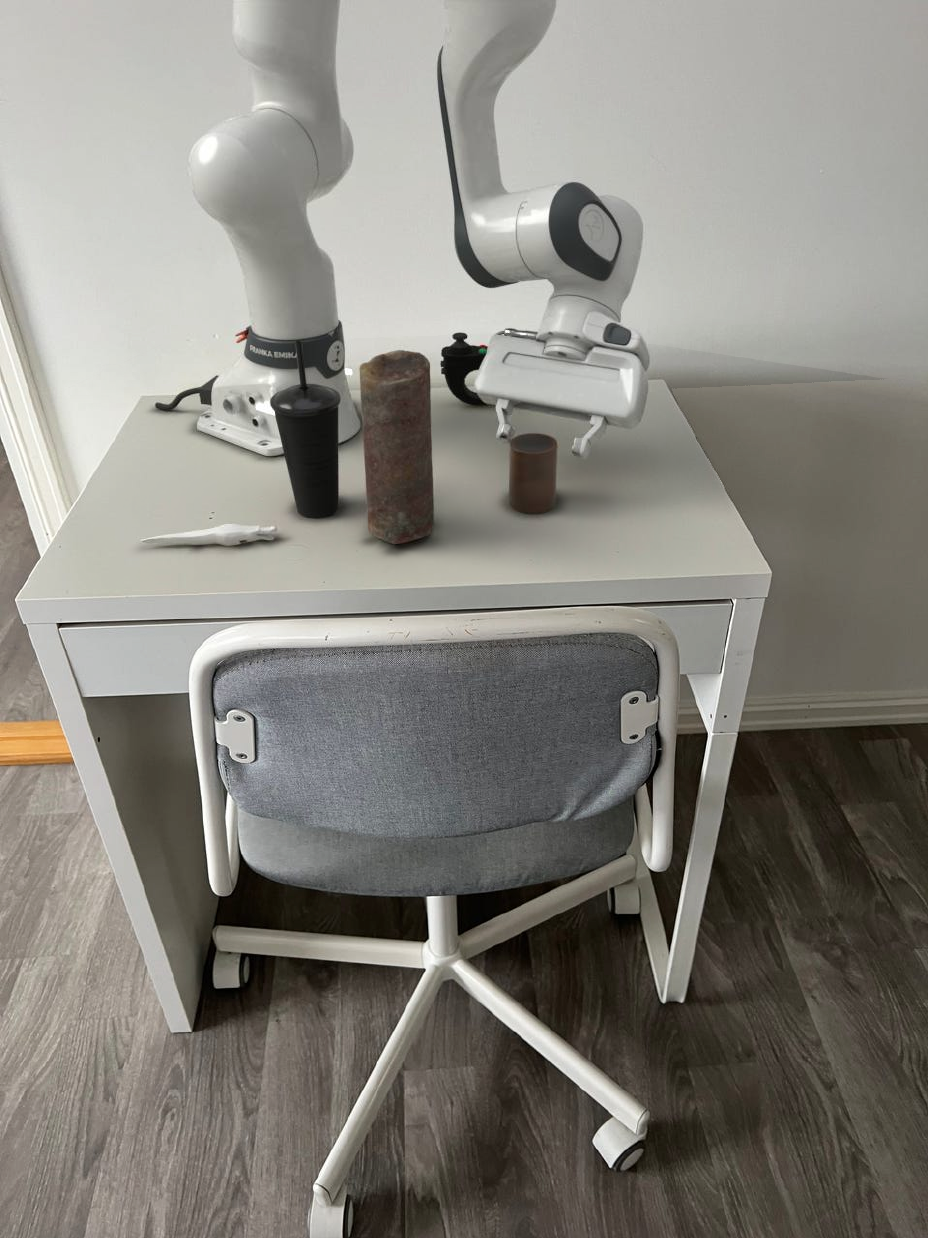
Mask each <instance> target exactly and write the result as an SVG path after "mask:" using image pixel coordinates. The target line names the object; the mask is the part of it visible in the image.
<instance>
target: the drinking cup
mask: <svg viewBox="0 0 928 1238" xmlns="http://www.w3.org/2000/svg"><path fill="white" fill-rule="evenodd" d="M295 345H296V353H297V361H298V370H299V378H300V384H299V385H294V386H291V387H289V388H286V389H284V390H282V391H279V392H277V393H276V394H274V395H273V396H272V397H271V399H270V406H271V408H272V410H273V411H274V413H275V417H276V422H277V426H278V430H279V434H280V439H281V443H282V447H283V451H284V454H283V456H284V459H285V460H284V461H285V463H286V469H287V472H288V477H289V481H290V485H291V489H292V494H293V497H294V501H295V506H296V510H297V513H298V514H299V515H300V516H302V517H303V518H307V519H322V518H326V517H330V516H332V515H334V514H335V513H337V512H338V510H339V506H340V505H339V503H340V501H339V500H340V499H339V498H340V497H339V491H340V489H339V486H340V485H339V481H340V479H339V478H340V477H339V476H340V475H339V473H340V472H339V469H340V468H339V463H340V462H339V444H338V405H339V404H340V401H341V398H340V394H339V393H338V392H337V391H336V390H334V389H332V388H329V387H325V386H321V385H317V384H307V383H306V375H305V366H304V358H303V350H302V341H301V340H296V341H295Z"/></svg>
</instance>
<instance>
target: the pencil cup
mask: <svg viewBox="0 0 928 1238" xmlns="http://www.w3.org/2000/svg"><path fill="white" fill-rule="evenodd" d="M557 467H558V441H557V439H556V438H554V437H552V436H550V435H548V434H544V433H537V432H536V433H535V432H534V433H533V432H529V433H521V434H518V435H516V436H513V437H512V440H511V441H510V443H509V466H508V472H509V473H508V476H509V477H508V479H509V482H508V504H509V506H510V507H511V508H512V509H513V510H514V511H516V512H519V513H522V514H529V515H535V514H537V515H538V514H542V513H546V512H549V511H551V510H552V509H553V508H554V507H555V505H556V495H557V472H558V471H557V470H558V469H557Z"/></svg>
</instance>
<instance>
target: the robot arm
mask: <svg viewBox="0 0 928 1238" xmlns="http://www.w3.org/2000/svg"><path fill="white" fill-rule="evenodd" d="M443 7H444V9H443V10H444V36H443V45H442V46H441V48H440V50H439V52H438V56H437V61H436V78H437V79H436V80H437V91H438V101H439V109H440V115H441V122H442V130H443V138H444V144H445V151H446V157H447V164H448V172H449V177H450V178H449V179H450V184H451V191H452V192H451V193H452V198H453V200H452V201H453V211H454V213H453V215H454V216H453V221H454V222H453V224H454V225H453V235H454V236H453V240H454V242H453V243H454V250H455V253H456V256H457V260H458V261H459V263H460V266H461V267H462V268H463V270H464V271H465V272H466V274H467V275H468V277H470V278H471V279H472V280H473V281H474V282H475V283H476V284H478V285H479V286H481V287H484V288H487V289H496V288H501V287H506V286H510V285H514V284H518V283H521V282H530V281H531V282H532V281H541V280H542V281H543V280H547V281H548V282H549V283H550V284H551V285H552V287H553V291H552V293H551V295H550V297H549V298H548V301H547V304H546V306H545V310H544V313H543V315H542V317H541V318H542V319H541V322H540V324H539V328H538V331H534V330H526V329H525V330H520V329H517V328H513V327H507V328H504V330H500V331H498V332H496V333H494V334H493V335H492V336H491V338H490V340H489V342H488V345H487V346H488V348H487V354H486V356H485V358H484V360H483V362H482V364H481V366H480V368H479V370H477V372H476V375H475V378H474V380H473V387H474V388H473V389H474V392H476V393H477V394H478V396H479V397H480V398H481V400H482V401H483V402H485V403H488V404H489V405H494V406H495V411H496V415H497V420H498V423H499V425H498V427H497V431H496V433H495V438H496V440H497V441H498V442H500V443H505V444H510V441H511V440H512V439H513V438H514V437H515V433H516V430H515V428H514V427H513V425H512V424H509V419H508V416H509V417H512V416H513V413H514V410H515V409H516V410H520V411H521V410H522V411H526V412H527V411H528V412H532V413H539V414H543V415H544V414H545V415H548V416H555V417H556V416H557V417H561V418H567V419H570V420H571V419H572V420H576V421H577V420H578V421H581V422H582V421H583V422H589V425H590V426H591V428H590V429H589V430H588V431H587V432H586V433H585V434H584V435H583V436H582V437H579V436H575V438H574V441H573V445H572V446H571V454H572V455H573V456H574V457H578V458H582V459H587V458H588V455H589V453H590V449H591V447H592V446H593V445H594V444H595V443H597V442H598V440H600V438H602V437H603V436H604V435H605V434H606V430H607V428H608V426H610V427H611V426H612V427H616V428H622V429H626V430H632V429H634V428H635V427H636V426H639V424H640V423H641V422H642V419H643V417H644V413H645V408H646V404H647V401H648V400H647V399H648V393H649V379H648V376H647V374H646V372H647V371H648V369H649V367H650V364H651V357H650V352H649V348H648V346H647V343H646V341H645V339H644V337H643V336H642V334H641V333H640V332H638V331H637V330H635V329H633V328H631V327H629V326H627V325H624V324H623V323H621V321H622V309H623V305H624V303H625V301H626V300H627V298H628V297H629V295H630V293H631V291H632V288H633V284H634V281H635V278H636V274H637V271H638V267H639V264H640V260H641V255H642V248H643V239H644V222H643V220H642V217H641V215H640V213H639V212H638V210H637V209H636V208H635V206H633V205H632V204H631V203H629V202H627V200H624V199H622V198H620V197H618V196H614V195H609V194H608V195H607V194H604V195H603V194H602V195H597V194H596V193H595V192H594V191H593V190H592V189H590V187H588V186H587V185H586V184H584V183H582V182H578V181H570V182H559V183H554V184H553V183H552V184H546V185H542V186H541V185H540V186H537V187H535V188H530V189H524V190H518V191H512V192H509V191H508V190H507V189H506V188H505V186H504V185H503V181H502V175H501V166H500V158H499V151H498V150H499V149H498V143H497V133H496V125H495V106H496V100H497V96H498V94H499V92H500V90H501V88H502V86H503V85H504V83H505V82H506V80H507V79H508V78H509V77H510V75H511V74H512V73H513V72H514V71H516V69H517V68H518V67H520V65H521V64H523V63H524V61H526V60H527V59H528V58H529V57H530V56H531V54H533V53H534V52H535V50H536V49H537V48H538V47H539V45H540V43H541V42H542V41H543V39H544V38H545V36H546V34H547V32H548V31H549V28H550V26H551V23H552V21H553V18H554V15H555V11H556V9H557V0H443ZM340 9H341V0H232V20H231V22H232V23H231V36H232V42H233V45H234V47H235V49H236V51H237V52H238V53H239V55H240V56H241V57H242V58H243V59H244V61H245V63H246V66H247V69H248V73H249V78H250V83H251V90H252V107H251V110H250V112H247V113H244V114H240V115H236V116H232V117H229V118H226V119H224V120H222V121H220V122H219V123H217V124H215V126H213V127H212V128H211V129H209V130H208V131H207V132H206V133H205V134H204V135H202V136H201V137H199V138H198V140H197V141H196V142H195V143H194V145H193V146H192V148H191V150H190V153H189V155H188V161H187V175H188V181H189V186H190V188H191V191H192V194H193V195H194V198H195V199H196V201H197V203H198V204H199V206H200V207H201V208H202V209H203V210H204V212H205V213H206V214H207V215H209V217H211V218H212V219H214V220H215V221H217V223H219V224H220V225H221V227H222V229H223V230H224V232H225V233H226V236H227V237H228V239H229V240H230V243H231V245H232V247H233V249H234V252H235V254H236V257H237V259H238V263H239V265H240V269H241V274H242V277H243V283H244V289H245V294H246V301H247V306H248V313H249V320H250V324H249V326H246V327H245V329H244V330H242V331H240V332H238V333H237V334H235V337H238V338H237V339H236V340H235V343H236V344H239V343H241V342H244V341H245V340H246V341H245V346H244V350H243V354H242V355H240V357H238V358H237V359H236V360H235V361H234V362H233V363H232V364H231V365H229V366H228V367H227V368H226V369H225V370H224V371H222V372H221V373H220V374H218V375H215V376H213V377H212V378H211V379H209V380H208V381H207V382H205V383H204V384H202V385H201V386H198V387H193V388H189V389H186V390H183V391H181V392H179V393H178V394H177V395H176V396H175V398H174V399H173V400H172V401H171V402H170V403H169V404H167V403H162V402H155V404H154V407H155V409H157V410H158V409H159V410H162V411H171V410H174V409H175V408H177V407H178V405H179V404H180V403H181V401H182V400H184V399H186V398H187V397H189V396H193V395H196V394H198V395H199V401H200V405H204V406H205V405H207V406H211V407H210V408H208V409H206V410H205V411H204V412H203V413H202V414H201V415H200V416H199V417H198V419H197V421H196V427H197V430H198V431H200V432H202V433H204V434H207V435H210V436H212V437H215V438H218V439H220V440H222V441H226V442H228V443H229V444H230V443H231V444H233V445H236V446H237V447H238V446H239V447H241V448H244V449H247V450H249V451H251V452H254V453H257V454H259V455H262V456H264V457H265V456H266V457H274V456H275V457H276V456H280V455H284V451H283V447H282V443H281V439H280V434H279V430H278V426H277V422H276V417H275V413H274V411H273V410H272V408H271V406H270V399H271V397H272V396H273V395H274V394H276V393H277V392H279V391H282V390H284V389H286V388H289V387H291V386H294V385H299V384H300V378H299V370H298V361H297V353H296V345H295V341H296V340H301V341H302V350H303V358H304V366H305V375H306V383H307V384H317V385H321V386H325V387H329V388H332V389H334V390H336V391H337V392H338V393H339V394H340V398H341V401H340V404H339V405H338V445H339V444H341V443H344V442H345V441H347V440H349V439H351V438H353V437H354V436H355V435H356V434H357V433H358V432H359V430H360V428H361V426H362V425H361V424H362V423H361V420H360V418H359V416H358V413H357V411H356V408H355V405H354V401H353V398H352V395H351V394H352V393H351V391H350V387H349V383H348V379H347V376H348V375H350V376H352V375H353V369H351V368H346V367H345V363H346V348H345V347H346V345H345V336H344V329H343V323H342V321H341V319H339V312H338V311H339V310H338V301H337V300H338V299H337V290H336V289H337V288H336V280H335V268H334V263H333V260H332V258H331V257H330V255H329V254H328V253H327V252H326V251H325V250H324V249H322V248H321V247H320V246H319V244H318V243H317V241H316V238H315V236H314V233H313V230H312V228H311V225H310V221H309V217H308V211H307V209H308V207H307V206H308V204H309V203H311V202H314V201H316V200H318V199H320V198H323V197H325V196H326V195H328V194H330V192H332V191H333V189H335V188H336V187H337V186H338V185H339V184H340V183H341V181H342V180H343V179H344V177H346V175H347V174H348V172H349V170H350V168H351V166H352V164H353V159H354V153H355V151H354V140H353V136H352V133H351V129H350V128H349V125H348V124H347V122H346V121H345V119H344V118H343V116H342V113H341V105H340V98H339V92H338V89H339V88H338V79H337V62H336V61H337V59H336V58H337V57H336V56H337V42H338V41H337V40H338V29H339V20H340V19H339V17H340Z"/></svg>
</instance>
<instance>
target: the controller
mask: <svg viewBox="0 0 928 1238" xmlns="http://www.w3.org/2000/svg"><path fill="white" fill-rule="evenodd" d="M452 339H453V340H455V341H454V342H453V343H452V344H450V345H445V346H444V347H442V348H441V351H440V355H441V357H442V360H440V363H439V364H440V365H439V367H440V368H441V369H440V374H441V375H444V379H445V383H446V385H447V387H448V389H449V391H450V392H451V394H452V395H453V396H454V397H455V398H456V399H457V400H459V401H460V402H462V403H463V404H466V405H469V406H473V407H483V406H488V405H490V404H488V403H485V402H483V401H482V400H481V398H480V397H479V396H478V394H477V393H476V391H473V390H471V389H470V388H468V386H467V385H466V378H467V376H468V375H469V374H470V373H472V372H474V371H475V372H476V371H478V370H479V368H480V366H481V364H482V362H483V360H484V358H485V356H486V354H487V348H488V345H486V344H480V345H473V344H472V345H471V344H469V343H467V342H466V341H465V340H467V339H468V334H467V333H465V332H455V333H453V334H452Z"/></svg>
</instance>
